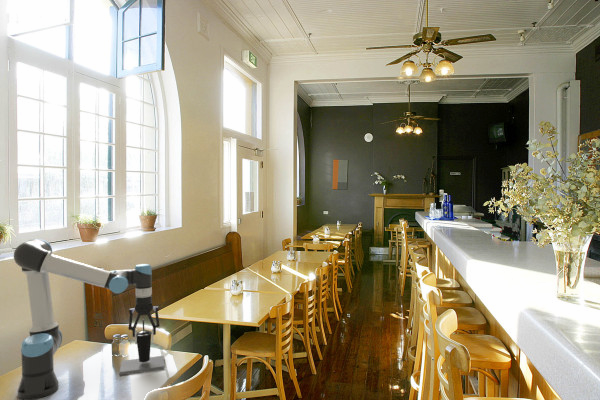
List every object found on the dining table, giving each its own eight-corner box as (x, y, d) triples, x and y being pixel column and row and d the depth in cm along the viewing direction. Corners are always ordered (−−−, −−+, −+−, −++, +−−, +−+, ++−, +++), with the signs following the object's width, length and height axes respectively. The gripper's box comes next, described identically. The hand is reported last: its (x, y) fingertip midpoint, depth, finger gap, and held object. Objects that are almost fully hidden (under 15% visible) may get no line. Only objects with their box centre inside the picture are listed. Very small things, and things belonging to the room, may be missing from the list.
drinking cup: (149, 363, 207) (148, 322, 206) (133, 363, 207) (132, 322, 206) (154, 357, 214) (153, 317, 214) (139, 357, 214) (138, 317, 214)
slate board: (119, 375, 201) (119, 372, 201) (121, 363, 214) (121, 360, 214) (164, 369, 207) (164, 366, 207) (163, 358, 220) (163, 355, 220)
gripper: (121, 299, 203) (122, 347, 204) (165, 296, 209) (165, 342, 210) (122, 295, 210) (123, 342, 211) (164, 292, 217) (165, 337, 217)
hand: (144, 342), depth 210 cm, fingers closed on drinking cup, 7 cm apart
